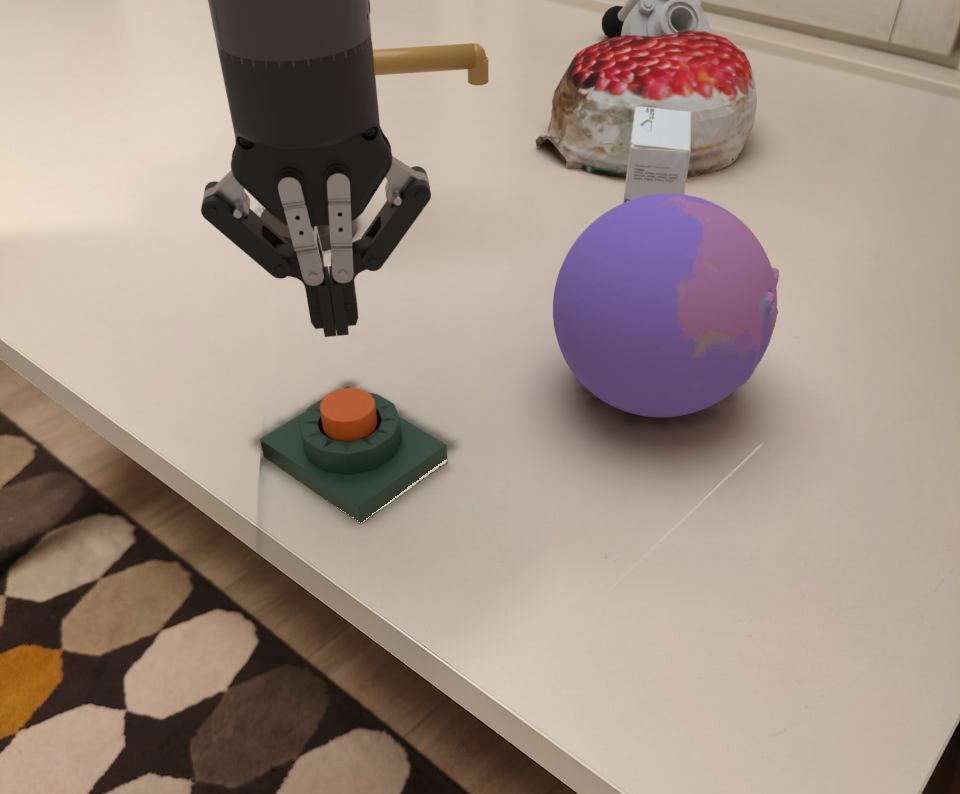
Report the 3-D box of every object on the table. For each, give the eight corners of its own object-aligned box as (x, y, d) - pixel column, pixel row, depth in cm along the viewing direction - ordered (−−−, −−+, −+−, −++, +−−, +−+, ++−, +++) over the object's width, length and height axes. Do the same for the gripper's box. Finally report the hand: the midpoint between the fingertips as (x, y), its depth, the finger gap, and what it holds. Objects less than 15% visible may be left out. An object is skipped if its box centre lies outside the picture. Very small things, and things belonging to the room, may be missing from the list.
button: (311, 426, 63) (308, 405, 62) (352, 401, 65) (349, 380, 64) (348, 449, 61) (345, 428, 60) (388, 423, 63) (386, 402, 62)
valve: (657, 124, 130) (645, 14, 129) (727, 63, 110) (712, -67, 110) (587, 127, 127) (573, 15, 127) (645, 66, 108) (630, -67, 108)
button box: (263, 457, 65) (254, 418, 63) (350, 403, 70) (344, 365, 67) (361, 525, 60) (355, 485, 58) (447, 463, 65) (445, 423, 62)
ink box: (673, 281, 82) (691, 148, 73) (615, 277, 82) (627, 145, 74) (675, 234, 88) (692, 106, 80) (621, 230, 88) (633, 103, 80)
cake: (653, 79, 116) (662, -9, 110) (794, 150, 101) (815, 52, 94) (491, 119, 108) (491, 26, 101) (618, 203, 92) (628, 100, 86)
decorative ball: (752, 476, 63) (799, 279, 53) (531, 444, 66) (536, 251, 56) (758, 350, 74) (799, 165, 64) (568, 327, 77) (578, 147, 66)
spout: (269, 103, 80) (260, 49, 77) (270, 88, 82) (261, 35, 79) (491, 88, 81) (490, 34, 78) (485, 74, 84) (485, 21, 81)
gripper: (144, 63, 43) (223, 375, 54) (435, 44, 44) (451, 354, 55) (163, 13, 48) (231, 306, 60) (421, -3, 49) (438, 287, 61)
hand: (337, 328), depth 58 cm, fingers closed
